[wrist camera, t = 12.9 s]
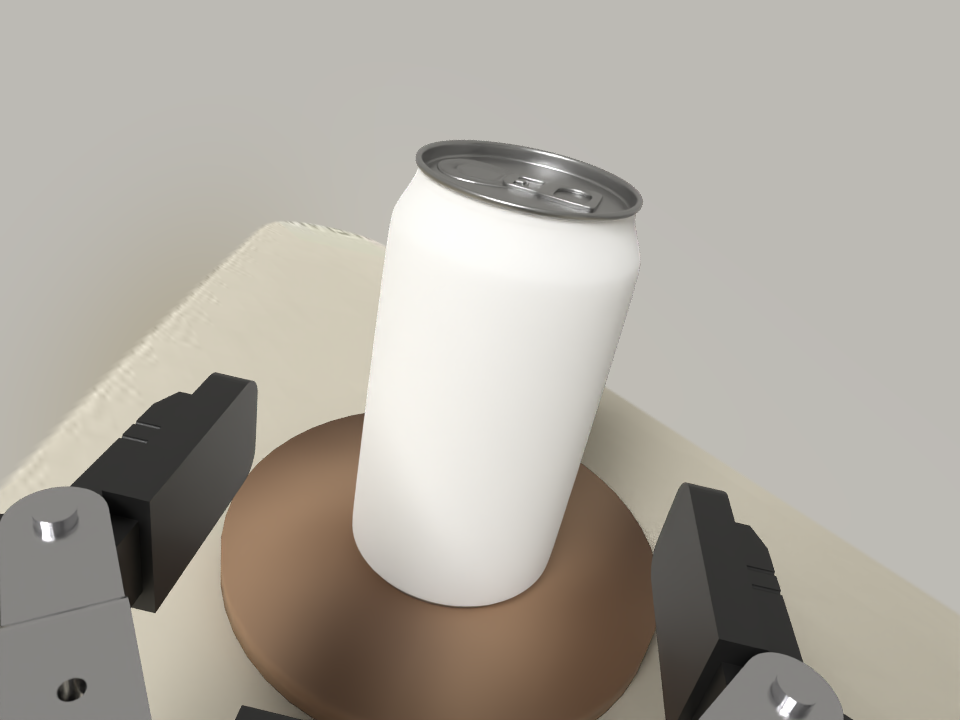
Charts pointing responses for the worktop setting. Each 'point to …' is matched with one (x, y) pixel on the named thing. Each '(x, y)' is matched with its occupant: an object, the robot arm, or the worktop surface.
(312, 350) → the worktop surface
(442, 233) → the can
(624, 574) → the disc
